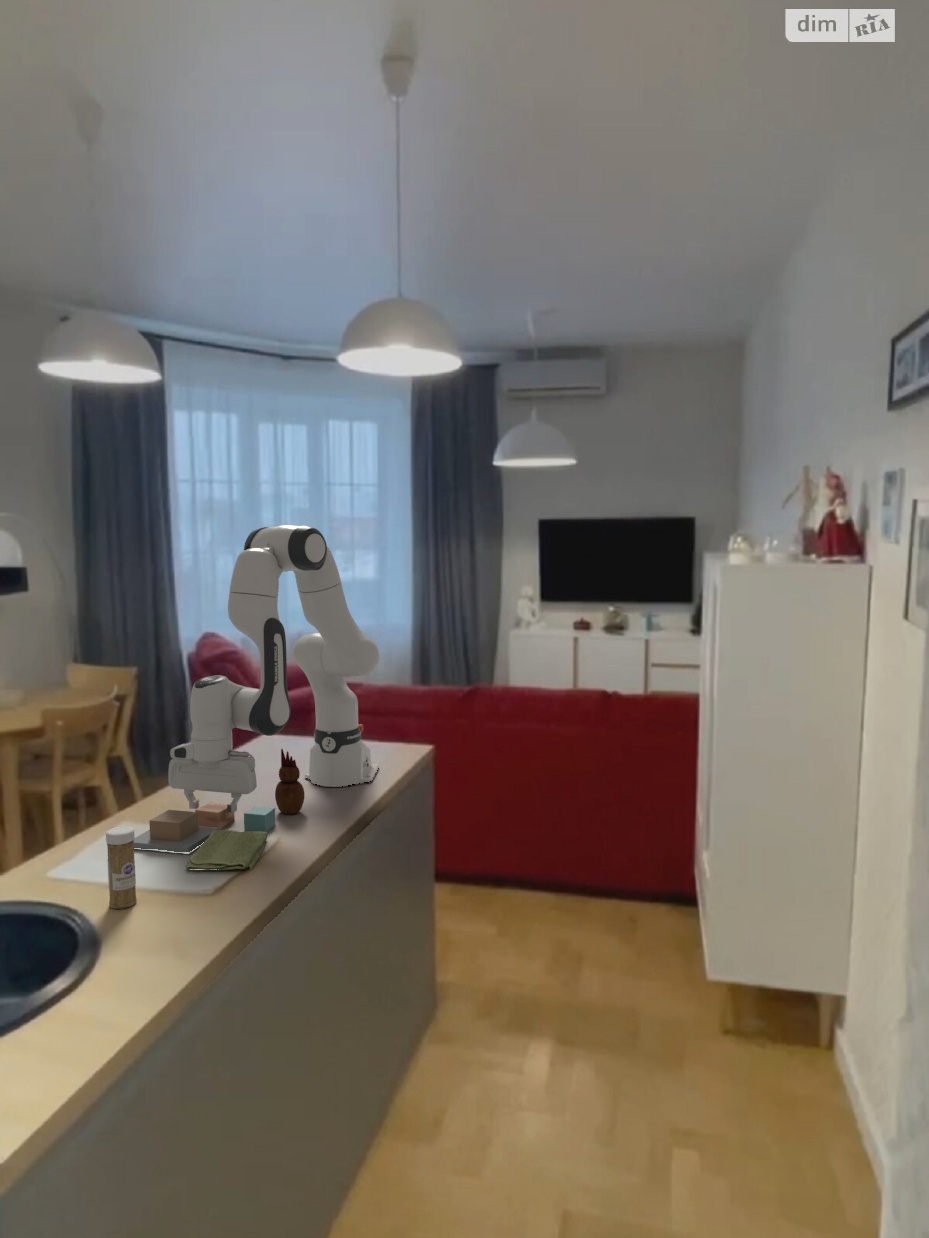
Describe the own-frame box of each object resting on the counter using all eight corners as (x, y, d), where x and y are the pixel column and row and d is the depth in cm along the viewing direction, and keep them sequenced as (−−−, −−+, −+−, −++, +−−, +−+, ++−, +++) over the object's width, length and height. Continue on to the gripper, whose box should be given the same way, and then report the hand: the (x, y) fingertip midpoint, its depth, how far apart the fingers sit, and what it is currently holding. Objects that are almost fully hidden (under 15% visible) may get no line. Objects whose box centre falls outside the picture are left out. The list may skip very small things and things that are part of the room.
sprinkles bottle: (123, 911, 142) (120, 835, 141) (103, 907, 144) (99, 832, 142) (142, 900, 146) (139, 827, 145) (122, 896, 148) (119, 823, 147)
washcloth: (182, 875, 159) (182, 859, 158) (211, 841, 176) (211, 827, 176) (250, 875, 159) (250, 859, 158) (272, 841, 176) (272, 826, 176)
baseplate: (162, 829, 182) (161, 804, 182) (219, 834, 179) (218, 809, 179) (128, 848, 171) (127, 823, 170) (188, 854, 168) (187, 828, 167)
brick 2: (254, 823, 186) (254, 806, 186) (275, 825, 185) (275, 807, 185) (244, 831, 182) (243, 813, 181) (265, 832, 181) (265, 815, 180)
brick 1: (212, 818, 190) (211, 801, 190) (234, 821, 188) (234, 804, 188) (195, 827, 184) (195, 809, 184) (218, 830, 182) (217, 812, 182)
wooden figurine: (271, 812, 194) (269, 749, 192) (291, 806, 198) (290, 744, 197) (288, 818, 189) (286, 754, 188) (308, 812, 193) (307, 749, 192)
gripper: (261, 748, 185) (262, 809, 186) (179, 743, 190) (181, 802, 191) (247, 755, 179) (248, 818, 180) (163, 749, 184) (165, 810, 185)
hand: (213, 809), depth 185 cm, fingers open, 8 cm apart
